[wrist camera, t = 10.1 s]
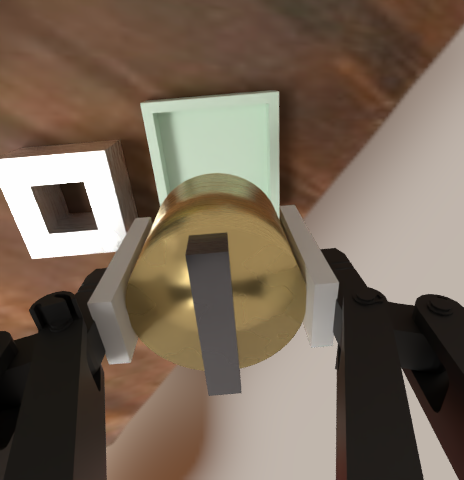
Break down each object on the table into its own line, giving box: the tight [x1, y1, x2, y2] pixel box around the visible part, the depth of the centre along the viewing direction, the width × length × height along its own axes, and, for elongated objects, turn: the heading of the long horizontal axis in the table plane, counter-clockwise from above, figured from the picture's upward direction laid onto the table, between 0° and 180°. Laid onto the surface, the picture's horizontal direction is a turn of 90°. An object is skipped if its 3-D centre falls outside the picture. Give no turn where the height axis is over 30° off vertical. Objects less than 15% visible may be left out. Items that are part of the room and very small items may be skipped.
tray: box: [140, 90, 279, 218], centre depth 29 cm, size 11×11×2 cm
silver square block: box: [0, 140, 138, 259], centre depth 29 cm, size 9×9×4 cm
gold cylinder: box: [125, 173, 307, 396], centre depth 16 cm, size 6×6×13 cm
